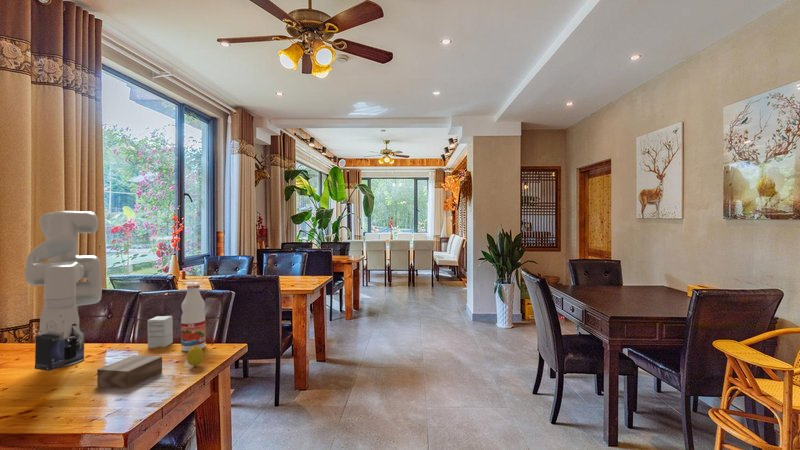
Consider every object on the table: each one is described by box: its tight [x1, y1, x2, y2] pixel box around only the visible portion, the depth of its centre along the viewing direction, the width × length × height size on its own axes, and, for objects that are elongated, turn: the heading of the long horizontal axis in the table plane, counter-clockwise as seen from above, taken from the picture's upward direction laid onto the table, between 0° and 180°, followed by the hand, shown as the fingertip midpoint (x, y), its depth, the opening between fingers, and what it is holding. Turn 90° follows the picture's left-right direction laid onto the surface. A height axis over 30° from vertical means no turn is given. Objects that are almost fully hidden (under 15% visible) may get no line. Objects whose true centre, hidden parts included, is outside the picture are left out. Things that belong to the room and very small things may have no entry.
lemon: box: [186, 346, 205, 368], centre depth 140 cm, size 6×6×8 cm
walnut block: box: [96, 354, 163, 390], centre depth 129 cm, size 12×14×6 cm
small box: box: [34, 327, 85, 372], centre depth 119 cm, size 11×6×10 cm, turn 169°
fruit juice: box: [180, 283, 206, 352], centre depth 162 cm, size 9×9×28 cm
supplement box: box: [147, 315, 174, 349], centre depth 166 cm, size 7×7×13 cm
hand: (60, 357), depth 119 cm, fingers closed on small box, 6 cm apart
